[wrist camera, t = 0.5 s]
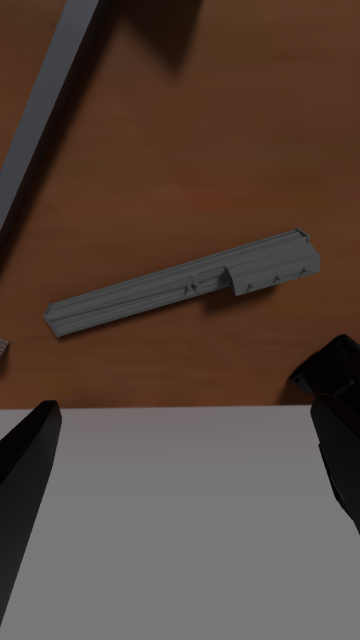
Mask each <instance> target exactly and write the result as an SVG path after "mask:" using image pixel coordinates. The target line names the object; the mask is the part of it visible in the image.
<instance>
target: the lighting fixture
mask: <svg viewBox="0 0 360 640" xmlns="http://www.w3.org/2000/svg"><path fill="white" fill-rule="evenodd" d="M318 272H320V255H319V254H318V253H317V252H316V250H315V249H314V248H313V246H312V245H311V243H310V235H309V234H307V233H305V232H304V231H302V230H301V229H299V228H296V229H295V230H291V231H288V232H285V233H281V234H278V235H275V236H272V237H268V238H265V239H262V240H259V241H255V242H252V243H249V244H246V245H242V246H239V247H236V248H232V249H229V250H226V251H223V252H219V253H216V254H213V255H210V256H206V257H203V258H200V259H196V260H193V261H190V262H187V263H183V264H180V265H177V266H174V267H170V268H167V269H164V270H160V271H157V272H154V273H151V274H147V275H144V276H141V277H138V278H134V279H131V280H128V281H125V282H121V283H118V284H115V285H111V286H108V287H105V288H102V289H98V290H95V291H92V292H89V293H85V294H82V295H79V296H75V297H72V298H69V299H66V300H62V301H59V302H56V303H53V304H52V303H50V305H49V306H48V308H47V310H46V312H45V313H44V315H43V317H44V318H45V320H46V321H47V323H48V324H49V326H50V327H51V328H52V330H53V331H54V333H55V334H56V336H57V337H60V336H62V335H66V334H69V333H72V332H76V331H79V330H83V329H86V328H89V327H93V326H96V325H100V324H103V323H106V322H110V321H113V320H117V319H120V318H123V317H127V316H130V315H134V314H137V313H140V312H144V311H147V310H151V309H154V308H157V307H161V306H164V305H168V304H171V303H174V302H178V301H181V300H185V299H188V298H191V297H195V296H198V295H202V294H205V293H208V292H212V291H215V290H219V289H222V288H225V287H229V286H231V289H232V292H233V293H235V295H236V296H238V295H242V294H245V293H249V292H252V291H255V290H259V289H262V288H266V287H269V286H273V285H276V284H280V283H283V282H287V281H290V280H293V279H297V278H300V277H304V276H307V275H311V274H314V273H318Z"/></svg>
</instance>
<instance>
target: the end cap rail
mask: <svg viewBox="0 0 360 640" xmlns="http://www.w3.org/2000/svg"><path fill="white" fill-rule="evenodd" d="M112 1H113V0H67V2H66V5H65V7H64V10H63V12H62V15H61V18H60V20H59V23H58V25H57V28H56V30H55V33H54V35H53V38H52V41H51V43H50V46H49V48H48V51H47V53H46V56H45V59H44V61H43V64H42V66H41V69H40V71H39V74H38V77H37V79H36V82H35V84H34V87H33V89H32V92H31V95H30V97H29V100H28V102H27V105H26V107H25V110H24V113H23V115H22V118H21V120H20V123H19V125H18V128H17V131H16V133H15V136H14V138H13V141H12V143H11V146H10V149H9V151H8V154H7V156H6V159H5V161H4V164H3V166H2V169H1V172H0V253H1V251H2V249H3V246H4V244H5V242H6V240H7V237H8V235H9V233H10V231H11V228H12V226H13V224H14V222H15V219H16V217H17V215H18V213H19V210H20V208H21V206H22V204H23V201H24V199H25V197H26V195H27V192H28V190H29V188H30V186H31V183H32V181H33V179H34V177H35V174H36V172H37V170H38V168H39V165H40V163H41V161H42V159H43V156H44V154H45V152H46V150H47V147H48V145H49V143H50V141H51V138H52V136H53V134H54V132H55V129H56V127H57V125H58V123H59V120H60V118H61V116H62V114H63V111H64V109H65V107H66V105H67V102H68V100H69V98H70V96H71V93H72V91H73V89H74V87H75V84H76V82H77V80H78V78H79V75H80V73H81V71H82V69H83V66H84V64H85V62H86V60H87V57H88V55H89V53H90V51H91V48H92V46H93V44H94V42H95V39H96V37H97V35H98V33H99V30H100V28H101V26H102V24H103V21H104V19H105V17H106V15H107V12H108V10H109V8H110V6H111V3H112ZM8 344H9V341H7V340H5V339H2V338H0V357H1V355H2V354H3V352H4V351H5V349H6V347H7V345H8Z"/></svg>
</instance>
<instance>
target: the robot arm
mask: <svg viewBox="0 0 360 640" xmlns="http://www.w3.org/2000/svg"><path fill="white" fill-rule="evenodd" d="M290 380H291V382H292V383H293V384H295V385H296V386H298V387H300V388H301V389H303V390H305V391H306V392H308V393H310V394H312V395H313V396H315V399H314V401H313V404H312V407H311V410H310V412H311V417H312V420H313V423H314V426H315V429H316V432H317V435H318V438H319V441H320V444H319V449H320V452H321V456H322V459H323V462H324V465H325V468H326V471H327V474H328V477H329V480H330V483H331V486H332V490H333V493H334V496H335V498H336V500H337V501H338V502H339V504H340V506H341V507H342V509H344V510H345V512H346V513H347V514H348V515H349V516H350V518H351V519H352V520H353V521H354V523H355V526H356V528H357V530H358V532H359V535H360V345H359V344H358V343H356V342H355V341H354V340H352V339H351V338H350V337H349V336H347V335H345V334H343V335H340V336H339V337H338V338H336V339H335V340H334V341H333V342H332V343H330V344H329V345H328V346H327V347H325V348H324V349H323V350H322V351H321V352H319V353H318V354H317V355H316V356H315V357H313V358H312V359H311V360H310V361H309V362H307V363H306V364H305V365H304V366H303V367H301V368H300V369H299V370H298V371H296V372H295V373H294V374H293V375H292V376H291V377H290ZM61 423H62V416H61V413H60V409H59V405H58V402H57V401H56V400H45V401H43V402H41V403H40V404H39V405H38V406H37V407H36V408H35V409H34V410H33V411H32V412H31V413H29V414H28V415H27V416H26V417H25V418H24V419H23V420H22V421H21V422H20V423H19V424H18V425H17V426H15V427H14V428H13V429H12V430H11V431H10V432H9V433H8V434H7V435H6V436H5V437H4V438H2V439H1V440H0V626H1V623H2V620H3V616H4V614H5V611H6V608H7V604H8V601H9V598H10V595H11V592H12V589H13V586H14V583H15V580H16V577H17V574H18V571H19V568H20V565H21V562H22V559H23V556H24V553H25V550H26V546H27V543H28V540H29V537H30V534H31V531H32V528H33V525H34V522H35V519H36V516H37V513H38V510H39V507H40V503H41V500H42V497H43V495H44V492H45V488H46V485H47V482H48V479H49V476H50V473H51V470H52V466H53V461H54V456H55V452H56V447H57V443H58V438H59V433H60V428H61Z"/></svg>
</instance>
